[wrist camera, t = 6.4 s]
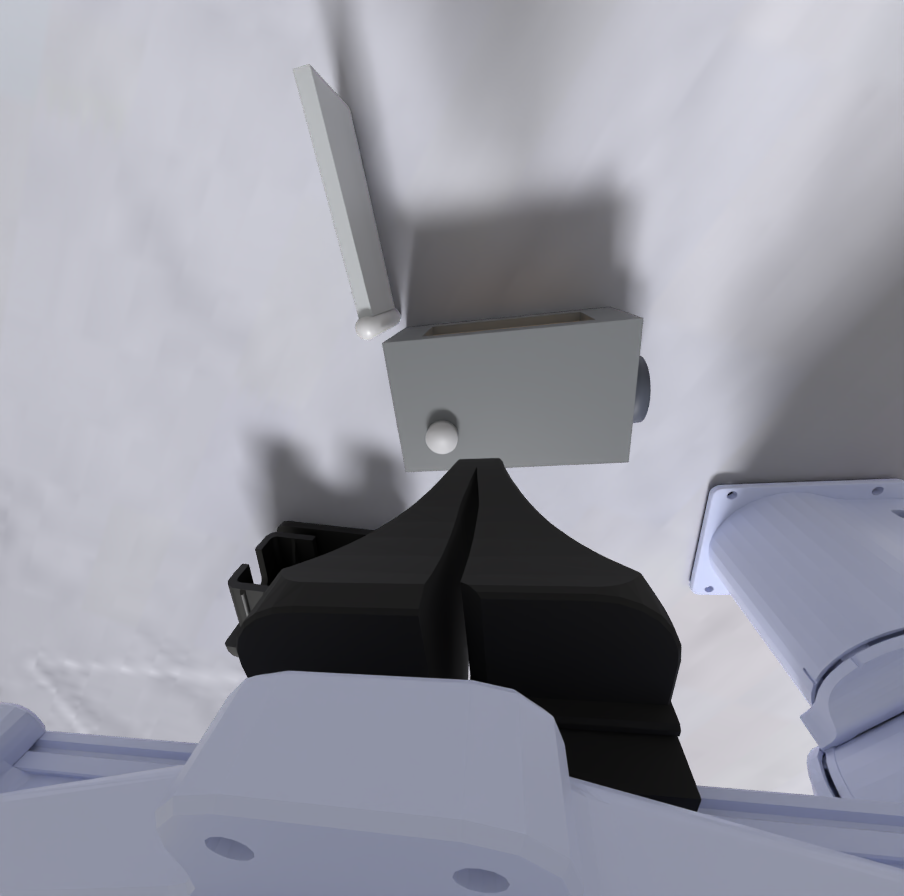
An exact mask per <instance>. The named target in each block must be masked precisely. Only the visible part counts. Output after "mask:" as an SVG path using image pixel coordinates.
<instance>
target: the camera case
mask: <svg viewBox="0 0 904 896" xmlns="http://www.w3.org/2000/svg"><path fill="white" fill-rule="evenodd" d="M642 326H643V318H641V317H638V316H635V315H632V314H629V313H627V312H624V311H621V310H618V309H615V308H612V307H604V308H594V309H584V310H574V311H564V312H554V313H545V314H535V315H525V316H515V317H505V318H495V319H485V320H475V321H465V322H455V323H446V324H436V325H426V326H416V327H406V328H405V329H403V330H402V331H400V332H398V333H397V334H395V335H394V336H392V337H391V338H389V339H388V340H386V341H385V342H383V343H382V345H383V351H384V356H385V361H386V367H387V372H388V378H389V383H390V389H391V394H392V400H393V405H394V411H395V416H396V421H397V427H398V432H399V438H400V443H401V449H402V454H403V460H404V465H405V471H406V472H422V471H444V470H450V468H451V467H452V466H453V465H454V464H455V463H456V462H457V461H458V460H459V459H481V458H500V459H501V460H502V461H503V464H504V466H505V468H512V467H534V466H557V465H579V464H602V463H624V462H629V453H630V443H631V433H632V424H633V423H636V422H641V421H642V420H643V419H644V418H645V416H646V414H647V411H648V407H649V402H650V376H649V371H648V367H647V364H646V362H645V360H644V358H643V357H642V356H640V346H641V336H642Z"/></svg>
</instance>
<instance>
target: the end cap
mask: <svg viewBox="0 0 904 896" xmlns="http://www.w3.org/2000/svg"><path fill="white" fill-rule="evenodd" d="M373 531H374V530H365V529H356V528H347V527H338V526H328V525H319V524H310V523H301V522H292V521H285V522H283V523H282V524H281V525H280V526H279V527H278V529H277V532H274V533H271V534H269V535H267V536H266V537H265V538H264V539H263V540H262V542H261V543H260V544H259V545H258V546H257V547H256V549H255V551H256V555H257V559H258V564H259V568H260V572H261V576H262V582H261V585H258V584H254V583H253V579H252V575H251V571H250V567H249V564H242V565H241V566H240V567H239V568H238V569H237V570H236V571H235V572H234V573H233V575H232V576H231V578H230V579H229V580H228V586H229V589H230V593H231V596H232V600H233V603H234V607H235V610H236V614H237V617H238V620H239V624H238V625H237V627H236V628H235V629H234V631H233V632H232V633H231V635H230V636H229V638H228V639H227V640H226V642H225V645H226V647H227V649H228V651H229V652H230V653H231V654H232V655H233V656H236V657H239V656H238V653H237V650H236V636H237V632H238V631H239V629H240V627H241V625H242V623H243V622H244V620H245V619H246V617H247V616H248V615H249V613H250V612H251V611H252V609H253V608H254V606H255V605H256V604H257V602H258V601H259V600H260V598H261V597H262V595H263V594H264V593H265V591H266V590H267V588H268V587H269V586H270V584H271V583H272V582H273V580H274V579H275V578H276V576H277V575H278V574H279V572H280V571H281V570H282V569H284V568H287V567H291V566H293V565H296V564H299V563H302V562H305V561H308V560H310V559H313V558H316V557H319V556H322V555H324V554H327V553H329V552H332V551H334V550H336V549H339V548H341V547H343V546H345V545H348V544H350V543H352V542H354V541H356V540H358V539H360V538H362V537H364V536H366V535H368V534H369V533H371V532H373Z"/></svg>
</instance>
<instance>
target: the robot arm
mask: <svg viewBox="0 0 904 896" xmlns="http://www.w3.org/2000/svg"><path fill="white" fill-rule="evenodd" d="M874 488H875V489H874ZM873 489H874V490H873ZM730 492H733V493H732V494H731V495H728V493H730ZM727 495H728V496H727ZM708 586H709V587H708ZM690 588H691V590H692V592H693V593H695V594H713V595H731V596H732V597H733V599H734V600H735V601H736V603H737V604H738V606H739V607H740V608H741V610H742V611H743V613H744V614H745V615H746V617H747V618H748V619H749V621H750V622H751V624H752V625H753V626H754V628H755V629H756V631H757V632H758V633H759V635H760V636H761V638H762V639H763V640H764V642H765V643H766V645H767V646H768V647H769V649H770V650H771V651H772V653H773V654H774V656H775V657H776V658H777V660H778V661H779V663H780V664H781V665H782V667H783V668H784V670H785V671H786V672H787V674H788V675H789V677H790V678H791V679H792V681H793V682H794V683H795V685H796V686H797V688H798V689H799V690H800V692H801V693H802V695H803V696H804V697H805V699H806V700H807V702H808V703H809V704H810V706H811V708H810V709H809V710H808V711H806V712H805V713H803V714H802V715H801V716H800V719H801V720H802V722H803V723H804V725H805V726H806V728H807V729H808V731H809V732H810V734H811V735H812V737H813V738H814V740H815V741H816V742H817V744H818V745H819V746H817V747H815V748H813V749H812V750H811V751H810V753H809V754H808V756H807V767H808V773H809V778H810V781H811V784H812V789H813V793H814V795H803V794H791V793H779V792H767V791H755V790H743V789H732V788H720V787H708V786H696V783H695V781H694V778H693V776H692V773H691V770H690V768H689V765H688V762H687V760H686V757H685V755H684V752H683V749H682V747H681V744H680V742H679V739H678V736H680V733H681V728H680V723H679V721H678V718H677V715H676V713H675V710H674V708H673V705H672V703H671V698H672V694H673V690H674V686H675V682H676V678H677V674H678V670H679V666H680V662H681V643H680V641H679V638H678V636H677V633H676V631H675V628H674V626H673V624H672V622H671V620H670V618H669V616H668V614H667V612H666V610H665V609H664V607H663V606H662V604H661V602H660V601H659V599H658V598H657V596H656V595H655V593H654V592H653V590H652V589H651V587H650V586H649V584H648V583H647V581H646V580H645V579H644V577H643V576H642V574H641V573H639V572H637V571H635V570H633V569H631V568H628V567H626V566H624V565H622V564H619V563H617V562H615V561H613V560H610V559H608V558H606V557H604V556H602V555H600V554H598V553H596V552H594V551H592V550H591V549H589V548H587V547H585V546H583V545H582V544H580V543H578V542H577V541H575V540H574V539H572V538H570V537H569V536H568V535H566V534H565V533H563V532H562V531H560V530H559V529H558V528H556V527H555V526H554V525H552V524H551V523H550V522H549V521H548V520H546V519H545V518H544V517H543V516H542V515H541V514H540V513H539V512H538V511H537V510H536V509H535V508H534V507H533V506H532V505H531V504H530V503H529V501H528V500H527V499H526V498H525V497H524V496H523V494H522V493H521V492H520V490H519V489H518V488H517V486H516V485H515V483H514V482H513V481H512V479H511V478H510V476H509V474H508V472H507V471H506V469H505V466H504V464H503V461H502V460H501V459H500V458H481V459H459V460H458V461H457V462H456V463H455V464H454V465H453V466H452V467H451V468H450V470H449V471H448V472H447V473H446V474H445V475H444V476H443V477H442V478H441V479H440V480H439V481H438V482H437V484H436V485H435V486H434V487H433V488H432V489H431V490H430V491H428V492H427V493H426V494H425V495H424V496H423V497H422V498H421V499H420V500H418V501H417V502H416V503H415V504H414V505H412V506H411V507H410V508H409V509H407V510H406V511H405V512H403V513H402V514H400V515H399V516H397V517H396V518H395V519H393V520H392V521H390V522H388V523H387V524H385V525H383V526H382V527H380V528H378V529H376V530H375V531H373V532H371V533H369V534H368V535H366V536H364V537H362V538H360V539H358V540H356V541H354V542H352V543H350V544H348V545H345V546H343V547H341V548H339V549H336V550H334V551H332V552H329V553H327V554H324V555H322V556H319V557H316V558H313V559H310V560H308V561H305V562H302V563H299V564H296V565H293V566H291V567H287V568H284V569H282V570H281V571H280V572H279V574H278V575H277V576H276V578H275V579H274V580H273V582H272V583H271V584H270V586H269V587H268V588H267V590H266V591H265V593H264V594H263V595H262V597H261V598H260V600H259V601H258V602H257V604H256V605H255V606H254V608H253V609H252V611H251V612H250V613H249V615H248V616H247V617H246V619H245V620H244V622H243V623H242V625H241V627H240V629H239V631H238V632H237V636H236V650H237V653H238V656H239V659H240V662H241V665H242V667H243V669H244V671H245V673H246V675H247V677H248V678H246V679H245V680H244V681H243V682H242V683H241V684H240V685H239V686H238V687H237V688H236V689H235V690H234V691H233V692H232V693H231V694H230V695H229V696H228V697H227V699H226V701H225V702H224V704H223V705H222V707H221V708H220V710H219V712H218V713H217V715H216V716H215V718H214V719H213V721H212V723H211V724H210V726H209V727H208V729H207V731H206V732H205V734H204V735H203V737H202V738H201V740H200V742H199V743H187V742H175V741H163V740H151V739H139V738H127V737H115V736H104V735H92V734H80V733H68V732H56V731H46V730H45V725H44V724H43V723H42V721H41V720H40V719H39V718H38V717H37V716H36V715H35V714H34V713H33V712H32V711H30V710H29V709H27V708H25V707H23V706H21V705H18V704H13V703H4V702H0V896H904V480H902V479H871V480H843V481H815V482H786V483H758V484H729V485H717V486H715V487H713V488H712V489H711V490H710V492H709V497H708V501H707V506H706V511H705V515H704V520H703V525H702V529H701V534H700V539H699V543H698V548H697V553H696V557H695V562H694V567H693V571H692V576H691V581H690ZM469 666H470V675H471V676H470V680H468V667H469Z"/></svg>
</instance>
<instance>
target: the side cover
mask: <svg viewBox="0 0 904 896" xmlns="http://www.w3.org/2000/svg"><path fill="white" fill-rule="evenodd" d="M293 73H294V77H295V81H296V84H297V88H298V92H299V96H300V99H301V103H302V107H303V111H304V114H305V118H306V122H307V126H308V129H309V133H310V137H311V141H312V144H313V148H314V152H315V156H316V159H317V163H318V167H319V171H320V175H321V178H322V182H323V186H324V190H325V193H326V197H327V201H328V205H329V208H330V212H331V216H332V220H333V223H334V227H335V231H336V235H337V238H338V242H339V246H340V250H341V253H342V257H343V261H344V265H345V268H346V272H347V276H348V280H349V283H350V287H351V291H352V295H353V299H354V302H355V306H356V310H357V314H358V317H359V320H358V321H357V322H356V325H355V329H356V333H357V334H358V336H359V337H360V338H362V339H364V340H371V339H373V338H375V337H377V336H378V335H380V334H382V333H384V332H385V331H387V330H389V329H391V328H392V327H394V326H396V325H397V324H399V322H400V320H401V315H400V313H399V311H398V310H397V309H396V308H395V306H394V302H393V297H392V293H391V289H390V284H389V280H388V275H387V271H386V266H385V262H384V257H383V253H382V249H381V244H380V240H379V235H378V231H377V226H376V222H375V218H374V213H373V209H372V204H371V200H370V195H369V191H368V186H367V182H366V178H365V173H364V169H363V164H362V160H361V155H360V151H359V147H358V142H357V138H356V133H355V129H354V124H353V120H352V115H351V111H350V108H349V107H348V106H347V104H346V103H345V102H344V101H343V100H342V99H341V98H340V97H339V96H338V95H337V94H336V92H335V91H334V90H333V89H332V88H331V87H330V86H329V85H328V84H327V83H326V81H325V80H324V79H323V78H322V77H321V76H320V75H319V74H318V73H317V72H316V71H315V69H314V68H313V67H312V66H311V65H310V64H307V65H304V66H301V67H298V68H295V69H293Z"/></svg>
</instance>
